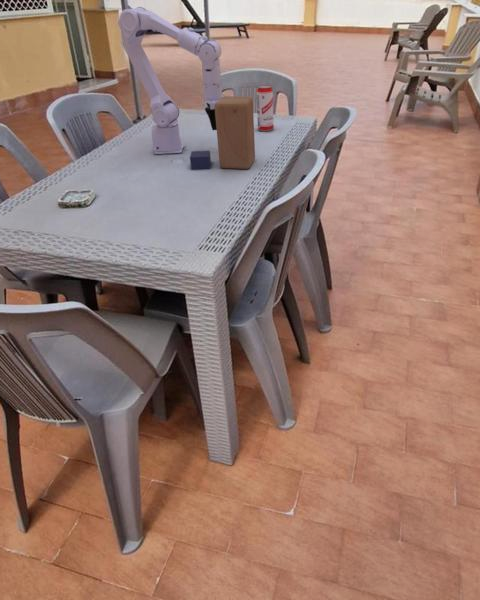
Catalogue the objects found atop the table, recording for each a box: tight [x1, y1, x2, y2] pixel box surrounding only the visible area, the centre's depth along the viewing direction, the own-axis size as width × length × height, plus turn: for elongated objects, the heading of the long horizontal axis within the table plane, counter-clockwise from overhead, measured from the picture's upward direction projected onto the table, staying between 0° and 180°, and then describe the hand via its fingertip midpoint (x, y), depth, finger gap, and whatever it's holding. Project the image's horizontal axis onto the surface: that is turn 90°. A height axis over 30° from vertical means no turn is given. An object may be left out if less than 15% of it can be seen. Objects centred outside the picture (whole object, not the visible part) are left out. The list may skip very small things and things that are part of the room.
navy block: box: [189, 150, 212, 170], centre depth 150 cm, size 6×6×4 cm
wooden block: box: [215, 95, 256, 170], centre depth 146 cm, size 10×10×20 cm
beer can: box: [256, 84, 275, 133], centre depth 179 cm, size 6×6×16 cm
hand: (216, 126), depth 157 cm, fingers open, 7 cm apart
